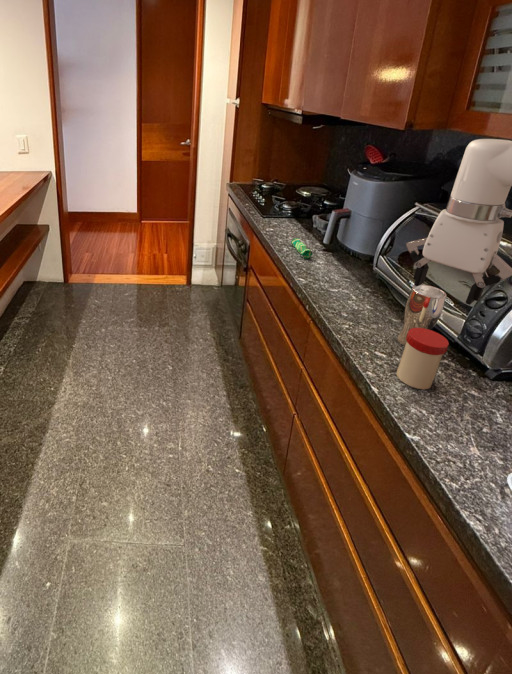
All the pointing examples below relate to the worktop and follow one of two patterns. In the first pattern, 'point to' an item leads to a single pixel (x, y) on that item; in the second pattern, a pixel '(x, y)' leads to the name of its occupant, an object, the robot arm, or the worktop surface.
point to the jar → (417, 367)
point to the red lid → (427, 341)
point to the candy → (301, 248)
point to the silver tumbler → (422, 309)
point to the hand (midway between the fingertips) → (443, 292)
